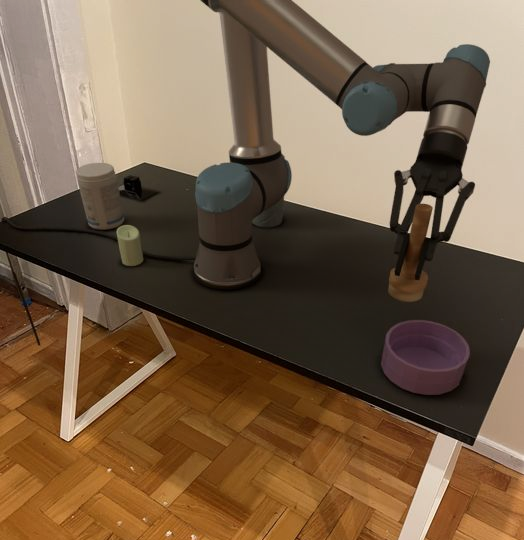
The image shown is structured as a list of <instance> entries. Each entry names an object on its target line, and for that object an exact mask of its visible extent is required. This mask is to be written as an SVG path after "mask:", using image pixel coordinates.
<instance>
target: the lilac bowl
mask: <svg viewBox="0 0 524 540" xmlns="http://www.w3.org/2000/svg"><path fill="white" fill-rule="evenodd" d="M470 356H471V352H470V346H469V343H468V342H467V340H466V338H464V337H463V336H462V335H461V334H460V333H459V332H458V331H456V330H454V329H453V328H451V327H449V326H448V325H445V324H442V323H439V322H435V321H432V320H425V319H410V320H405V321H401V322H398V323H396V324H395V325H393V326H392V327H390V328H389V329H388V331H387V333H386V334H385V338H384V343H383V348H382V353H381V360H380V366H381V369H382V371H383V374H384V375H385V376H386V377H387V378H388V380H389V381H390V382H391V383H393V384H395V385H396V386H397V387H399V388H401V389H403V390H405V391H408V392H410V393H414V394H418V395H425V396H432V395H433V396H437V395H442V394H446V393H449V392H452V391H453V390H454V389H456V388H457V387H458V386H460V383H461V381H462V379H463V378H464V377H463V376H464V373H465V370H466V367H467V365H468V362H469V359H470Z"/></svg>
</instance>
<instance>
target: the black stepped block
mask: <svg viewBox="0 0 524 540" xmlns="http://www.w3.org/2000/svg"><path fill="white" fill-rule="evenodd" d="M140 179H141V178H140V176H135V175H131V174H129V175H127V176H125V177H123V181H122V183H123V184H122V185H120V186H118V189H119V194H120V197H125V198H129V199H132V200H136V201H139V202H143V201H145V200H147V199H149V198H151V197H153V196H155V195H157V194H158V191H155V190H152V189H148V188H146V187H145V188H144V187H142V181H141V180H140Z"/></svg>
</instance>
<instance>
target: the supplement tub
mask: <svg viewBox="0 0 524 540" xmlns="http://www.w3.org/2000/svg"><path fill="white" fill-rule="evenodd" d="M75 174H76V180H77V184H78V189H79V193H80V196H81V201H82V204H83V209H84V214H85V217H86V220H87V225H88V226H89V227H90V228H92V229H94V230H96V231H109V230H112V229H117V228H119V227H120V226H122V225H123V223H124V221H125V214H124V209H123V204H122V199H121V195H120V194H119V189H118V187H119V185H118V178H117V174H116V171H115V168H114V166H113V165H112V164H110V163H107V162H93V163H87V164H83V165H81V166H79V167H78V168H77V169H75Z"/></svg>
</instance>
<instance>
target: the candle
mask: <svg viewBox="0 0 524 540" xmlns="http://www.w3.org/2000/svg"><path fill="white" fill-rule="evenodd" d="M116 237H117V238H118V241H117V243H118V248H119V253H120V259H121V263H122V265H124V266H126V267H135V266H138V265H140V264H142V263H143V262H144V255H143V254H142V251H143V249H142V243H141V236H140V231H139V230H138V228H137V227H136V226H133V225H131V224H122V225H120V226H118V227H117V228H116Z"/></svg>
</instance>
